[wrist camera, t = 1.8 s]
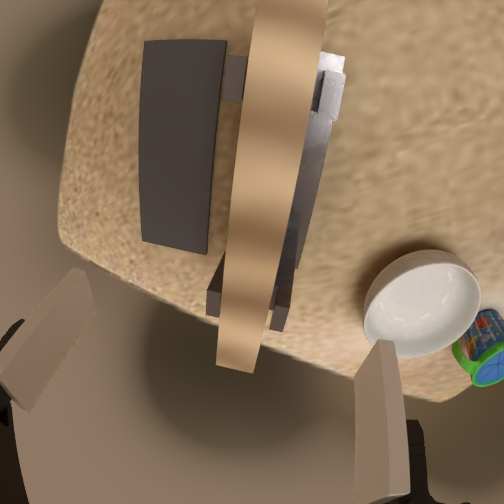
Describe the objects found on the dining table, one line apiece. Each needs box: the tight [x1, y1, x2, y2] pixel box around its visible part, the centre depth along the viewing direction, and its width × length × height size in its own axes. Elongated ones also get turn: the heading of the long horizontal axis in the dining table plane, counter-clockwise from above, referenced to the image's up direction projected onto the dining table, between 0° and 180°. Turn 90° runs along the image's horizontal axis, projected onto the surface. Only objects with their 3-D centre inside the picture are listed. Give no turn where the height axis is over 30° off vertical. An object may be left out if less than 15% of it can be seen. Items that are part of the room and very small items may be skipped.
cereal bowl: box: [363, 249, 481, 358], centre depth 36 cm, size 17×17×7 cm
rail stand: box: [206, 52, 346, 332], centre depth 27 cm, size 26×9×16 cm, turn 172°
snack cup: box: [452, 310, 504, 387], centre depth 36 cm, size 16×10×10 cm
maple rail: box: [216, 0, 329, 373], centre depth 21 cm, size 30×4×4 cm, turn 172°
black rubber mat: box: [139, 40, 227, 255], centre depth 35 cm, size 28×10×1 cm, turn 172°
